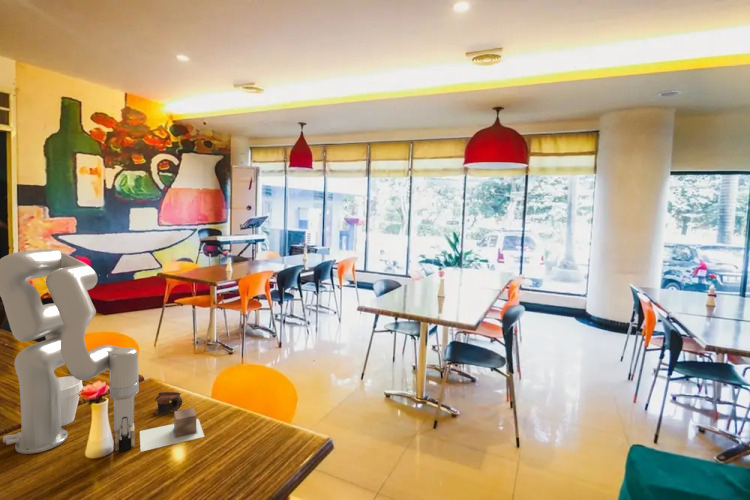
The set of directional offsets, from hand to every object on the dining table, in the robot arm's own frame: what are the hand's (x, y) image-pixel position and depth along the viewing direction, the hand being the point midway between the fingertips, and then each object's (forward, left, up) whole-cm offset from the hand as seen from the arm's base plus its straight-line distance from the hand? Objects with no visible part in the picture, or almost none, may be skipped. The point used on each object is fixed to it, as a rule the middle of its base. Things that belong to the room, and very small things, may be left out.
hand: (125, 444), depth 125 cm
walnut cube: (+17, 0, 0) cm, 17 cm away
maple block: (0, 0, -1) cm, 1 cm away
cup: (-19, +26, -1) cm, 32 cm away
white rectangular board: (+13, 0, -1) cm, 13 cm away
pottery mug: (+14, +19, -1) cm, 23 cm away
